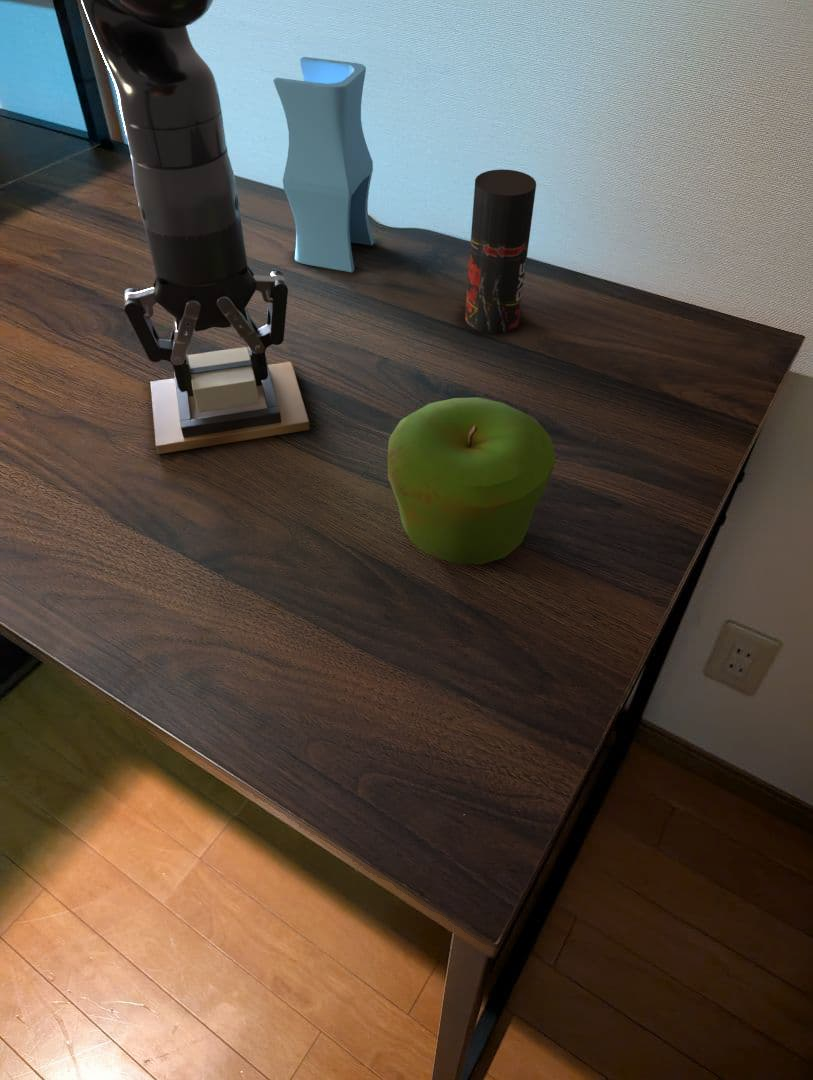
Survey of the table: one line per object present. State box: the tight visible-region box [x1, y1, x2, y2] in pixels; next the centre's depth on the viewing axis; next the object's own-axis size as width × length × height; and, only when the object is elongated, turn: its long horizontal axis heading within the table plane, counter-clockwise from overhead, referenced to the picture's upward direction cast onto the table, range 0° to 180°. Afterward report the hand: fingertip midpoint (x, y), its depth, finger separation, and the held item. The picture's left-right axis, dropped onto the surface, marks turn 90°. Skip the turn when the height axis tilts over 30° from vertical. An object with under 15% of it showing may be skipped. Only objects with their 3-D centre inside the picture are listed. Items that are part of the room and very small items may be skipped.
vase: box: [273, 56, 375, 273], centre depth 91 cm, size 8×8×20 cm
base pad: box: [149, 358, 311, 455], centre depth 76 cm, size 14×10×2 cm
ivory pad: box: [188, 346, 259, 413], centre depth 74 cm, size 6×6×3 cm
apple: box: [387, 396, 557, 565], centre depth 62 cm, size 12×12×11 cm
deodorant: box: [464, 169, 537, 334], centre depth 83 cm, size 6×6×15 cm
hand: (224, 385), depth 75 cm, fingers closed on ivory pad, 5 cm apart
